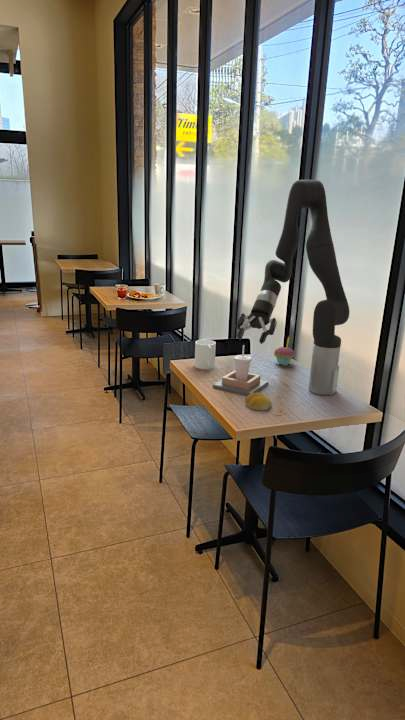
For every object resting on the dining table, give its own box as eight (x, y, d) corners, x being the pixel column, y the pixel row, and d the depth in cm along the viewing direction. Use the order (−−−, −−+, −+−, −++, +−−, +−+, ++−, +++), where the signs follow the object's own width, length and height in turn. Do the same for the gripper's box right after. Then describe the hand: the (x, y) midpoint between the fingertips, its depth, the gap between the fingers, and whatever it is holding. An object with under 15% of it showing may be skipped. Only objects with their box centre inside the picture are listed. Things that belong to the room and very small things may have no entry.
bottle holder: (268, 384, 179) (268, 374, 178) (251, 396, 166) (251, 386, 165) (231, 376, 186) (232, 367, 185) (212, 387, 173) (213, 377, 172)
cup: (199, 372, 188) (200, 348, 185) (192, 363, 199) (193, 339, 196) (220, 371, 191) (221, 347, 188) (211, 362, 202) (212, 339, 199)
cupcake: (281, 359, 209) (284, 332, 206) (297, 364, 203) (300, 337, 200) (269, 363, 204) (271, 335, 200) (285, 368, 198) (287, 340, 194)
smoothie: (250, 380, 179) (252, 343, 174) (249, 386, 172) (252, 348, 168) (232, 379, 179) (234, 342, 175) (232, 385, 173) (234, 347, 169)
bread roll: (253, 412, 154) (254, 401, 153) (241, 402, 162) (242, 391, 160) (276, 409, 157) (277, 398, 155) (263, 399, 165) (264, 388, 163)
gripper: (244, 296, 182) (229, 332, 176) (280, 301, 175) (265, 338, 169) (249, 308, 188) (235, 343, 182) (284, 313, 181) (270, 349, 175)
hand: (249, 340), depth 175 cm, fingers open, 8 cm apart
